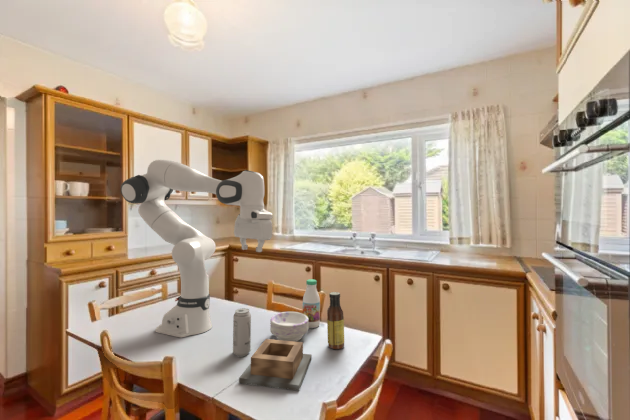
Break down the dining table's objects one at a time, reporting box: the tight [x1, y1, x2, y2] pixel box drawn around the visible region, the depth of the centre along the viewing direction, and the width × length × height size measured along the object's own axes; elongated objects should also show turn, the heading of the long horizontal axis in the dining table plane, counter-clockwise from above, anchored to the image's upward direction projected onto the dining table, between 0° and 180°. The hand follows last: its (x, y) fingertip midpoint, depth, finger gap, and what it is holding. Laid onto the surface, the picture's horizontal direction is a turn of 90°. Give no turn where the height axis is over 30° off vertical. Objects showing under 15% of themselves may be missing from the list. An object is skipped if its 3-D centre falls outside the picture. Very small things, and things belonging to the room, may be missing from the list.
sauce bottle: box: [326, 291, 345, 350], centre depth 108 cm, size 6×6×20 cm
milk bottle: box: [301, 278, 321, 329], centre depth 128 cm, size 8×8×20 cm
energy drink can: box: [232, 307, 252, 357], centre depth 102 cm, size 6×6×15 cm
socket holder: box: [238, 338, 313, 392], centre depth 91 cm, size 18×18×6 cm
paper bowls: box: [269, 311, 309, 342], centre depth 115 cm, size 15×15×8 cm
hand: (251, 250), depth 108 cm, fingers open, 8 cm apart
